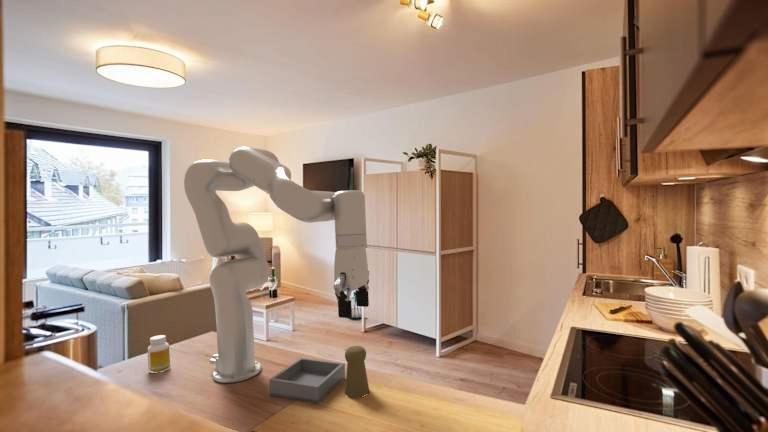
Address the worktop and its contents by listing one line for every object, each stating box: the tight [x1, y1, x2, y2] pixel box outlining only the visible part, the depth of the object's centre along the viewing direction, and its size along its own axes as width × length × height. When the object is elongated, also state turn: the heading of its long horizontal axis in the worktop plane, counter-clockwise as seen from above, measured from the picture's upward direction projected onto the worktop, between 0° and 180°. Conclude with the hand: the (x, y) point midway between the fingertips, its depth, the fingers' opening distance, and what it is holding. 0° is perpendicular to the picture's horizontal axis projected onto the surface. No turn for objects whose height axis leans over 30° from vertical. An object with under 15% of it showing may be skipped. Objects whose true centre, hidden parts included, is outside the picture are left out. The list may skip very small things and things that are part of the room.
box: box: [268, 357, 346, 405], centre depth 96 cm, size 14×14×4 cm
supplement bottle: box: [147, 334, 171, 372], centre depth 110 cm, size 5×5×10 cm
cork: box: [344, 345, 370, 399], centre depth 92 cm, size 6×6×11 cm
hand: (354, 311), depth 92 cm, fingers open, 9 cm apart
